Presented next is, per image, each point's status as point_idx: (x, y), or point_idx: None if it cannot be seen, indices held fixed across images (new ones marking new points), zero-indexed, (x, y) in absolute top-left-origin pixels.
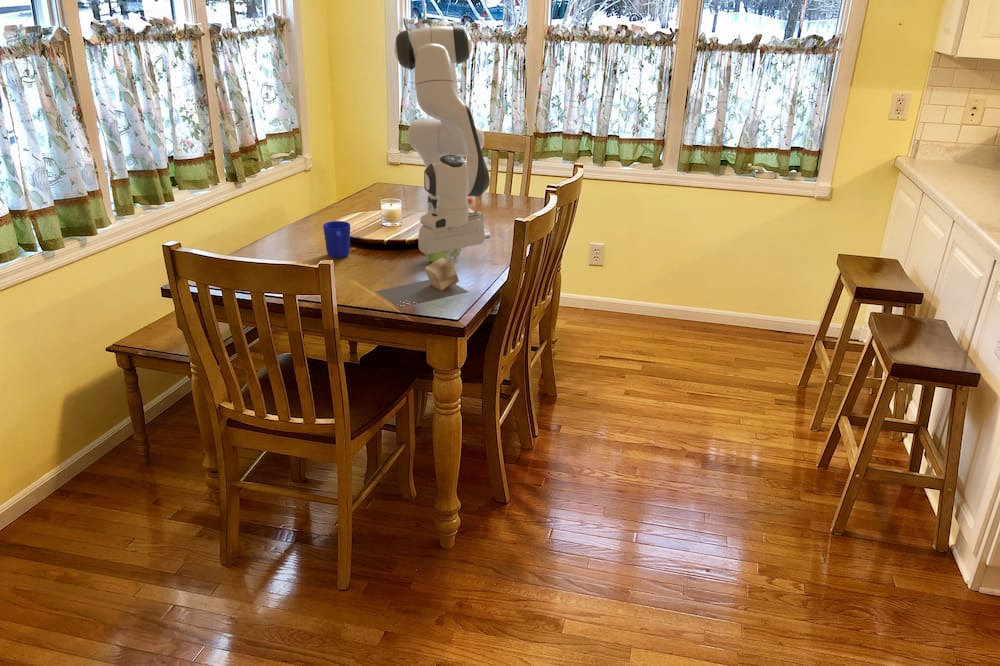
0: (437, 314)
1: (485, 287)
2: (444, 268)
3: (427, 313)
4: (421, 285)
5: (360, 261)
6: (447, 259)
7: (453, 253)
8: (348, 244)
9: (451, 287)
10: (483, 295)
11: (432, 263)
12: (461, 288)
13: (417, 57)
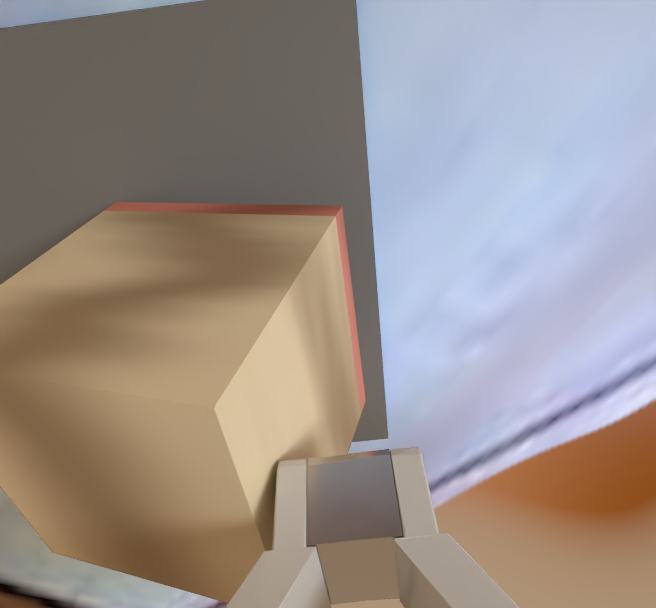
0: (68, 581)
1: (573, 385)
2: (160, 579)
3: (9, 563)
4: (2, 172)
5: None
6: (277, 513)
7: (430, 584)
8: None
9: None
10: (455, 482)
11: (22, 385)
12: (371, 372)
13: None
